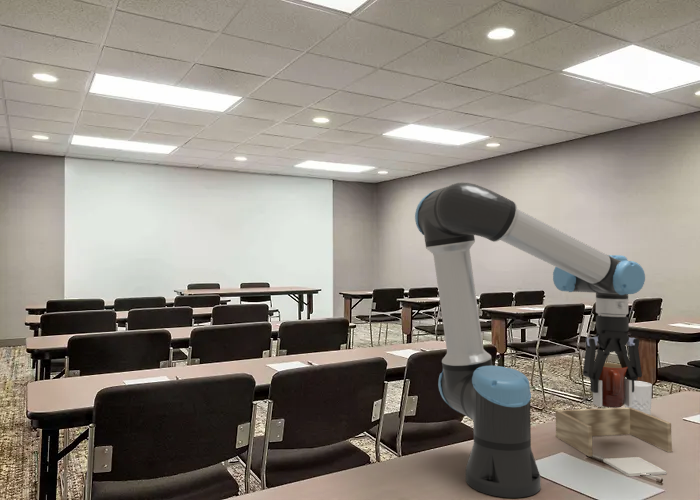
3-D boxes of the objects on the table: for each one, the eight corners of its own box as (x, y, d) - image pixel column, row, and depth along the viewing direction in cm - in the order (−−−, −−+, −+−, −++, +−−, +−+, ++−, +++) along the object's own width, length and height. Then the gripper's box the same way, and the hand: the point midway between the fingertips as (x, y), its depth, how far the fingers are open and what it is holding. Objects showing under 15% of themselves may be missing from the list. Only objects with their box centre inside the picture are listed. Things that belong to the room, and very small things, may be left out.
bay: (588, 456, 125) (587, 427, 125) (556, 436, 140) (555, 410, 140) (671, 451, 128) (671, 423, 128) (631, 433, 143) (630, 407, 143)
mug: (586, 399, 139) (586, 361, 140) (621, 402, 137) (621, 363, 138) (598, 411, 127) (598, 369, 128) (637, 413, 126) (637, 371, 126)
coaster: (628, 476, 113) (628, 473, 113) (603, 461, 122) (603, 458, 122) (666, 474, 114) (666, 471, 114) (638, 459, 123) (638, 456, 123)
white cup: (629, 411, 165) (629, 379, 165) (657, 416, 159) (656, 383, 159) (618, 415, 160) (618, 383, 160) (646, 421, 154) (645, 387, 154)
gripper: (583, 316, 129) (583, 409, 127) (658, 316, 131) (659, 408, 130) (567, 313, 136) (567, 402, 135) (638, 314, 139) (639, 401, 138)
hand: (612, 405), depth 133 cm, fingers closed on mug, 7 cm apart
